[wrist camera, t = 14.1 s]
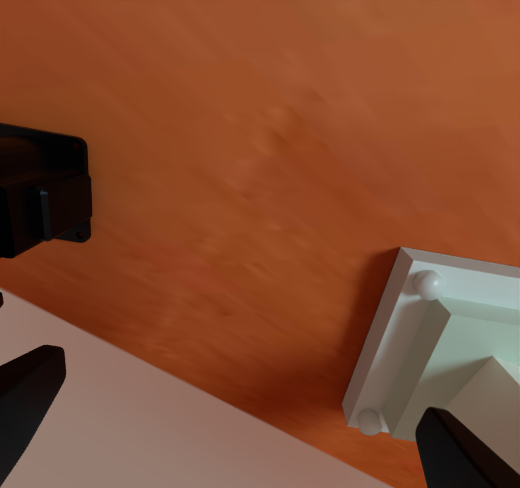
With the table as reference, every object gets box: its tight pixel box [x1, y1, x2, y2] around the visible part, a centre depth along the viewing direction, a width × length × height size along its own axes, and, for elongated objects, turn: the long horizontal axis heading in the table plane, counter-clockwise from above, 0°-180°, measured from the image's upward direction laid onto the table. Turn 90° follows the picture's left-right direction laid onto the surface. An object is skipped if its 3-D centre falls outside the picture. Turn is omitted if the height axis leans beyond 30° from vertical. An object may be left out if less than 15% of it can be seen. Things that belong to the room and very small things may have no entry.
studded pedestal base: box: [342, 247, 520, 441], centre depth 21 cm, size 14×14×4 cm
